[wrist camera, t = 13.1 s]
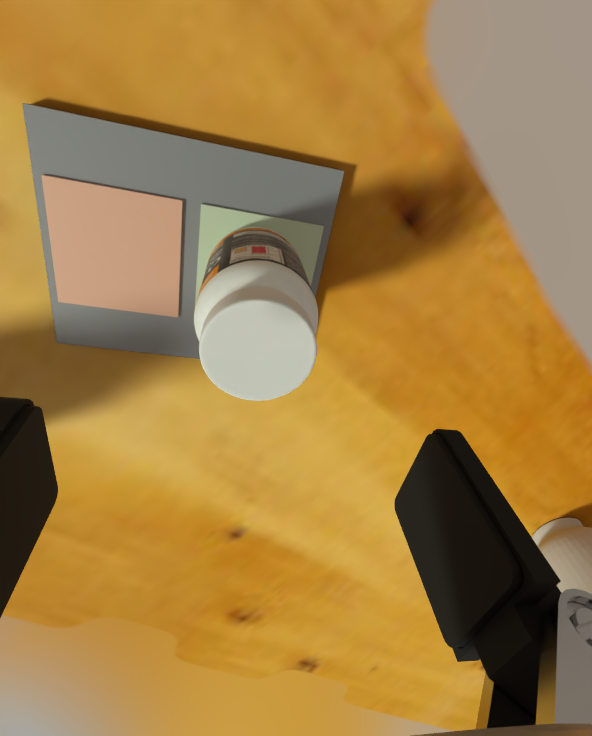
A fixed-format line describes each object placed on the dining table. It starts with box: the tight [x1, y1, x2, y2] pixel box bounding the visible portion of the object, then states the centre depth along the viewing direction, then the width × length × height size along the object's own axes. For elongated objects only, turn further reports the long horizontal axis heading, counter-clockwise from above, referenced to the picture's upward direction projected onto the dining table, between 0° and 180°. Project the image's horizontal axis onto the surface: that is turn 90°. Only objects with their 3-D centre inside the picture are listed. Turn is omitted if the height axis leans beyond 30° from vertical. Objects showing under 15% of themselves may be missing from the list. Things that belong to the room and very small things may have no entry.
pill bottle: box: [194, 227, 318, 401], centre depth 19 cm, size 6×6×10 cm
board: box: [23, 103, 344, 359], centre depth 23 cm, size 13×16×1 cm
